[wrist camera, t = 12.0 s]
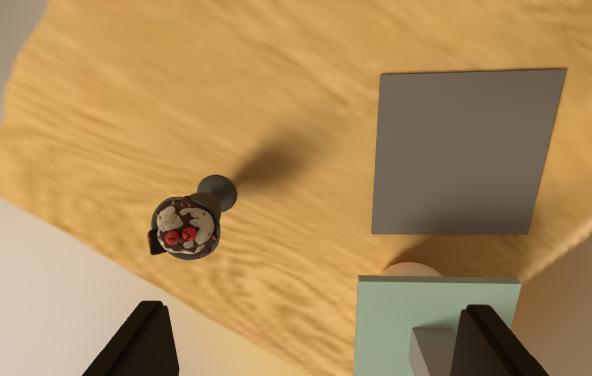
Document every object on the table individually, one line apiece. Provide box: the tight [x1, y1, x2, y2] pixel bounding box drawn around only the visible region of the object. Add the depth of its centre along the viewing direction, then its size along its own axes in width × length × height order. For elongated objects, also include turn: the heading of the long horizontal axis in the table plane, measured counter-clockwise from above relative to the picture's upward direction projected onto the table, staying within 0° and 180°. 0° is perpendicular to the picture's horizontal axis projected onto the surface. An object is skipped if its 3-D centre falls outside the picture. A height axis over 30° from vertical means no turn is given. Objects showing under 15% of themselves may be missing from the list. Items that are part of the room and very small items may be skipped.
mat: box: [371, 69, 566, 234], centre depth 36 cm, size 19×19×1 cm
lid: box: [353, 275, 522, 376], centre depth 29 cm, size 15×15×8 cm
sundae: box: [147, 175, 236, 260], centre depth 32 cm, size 7×7×15 cm
